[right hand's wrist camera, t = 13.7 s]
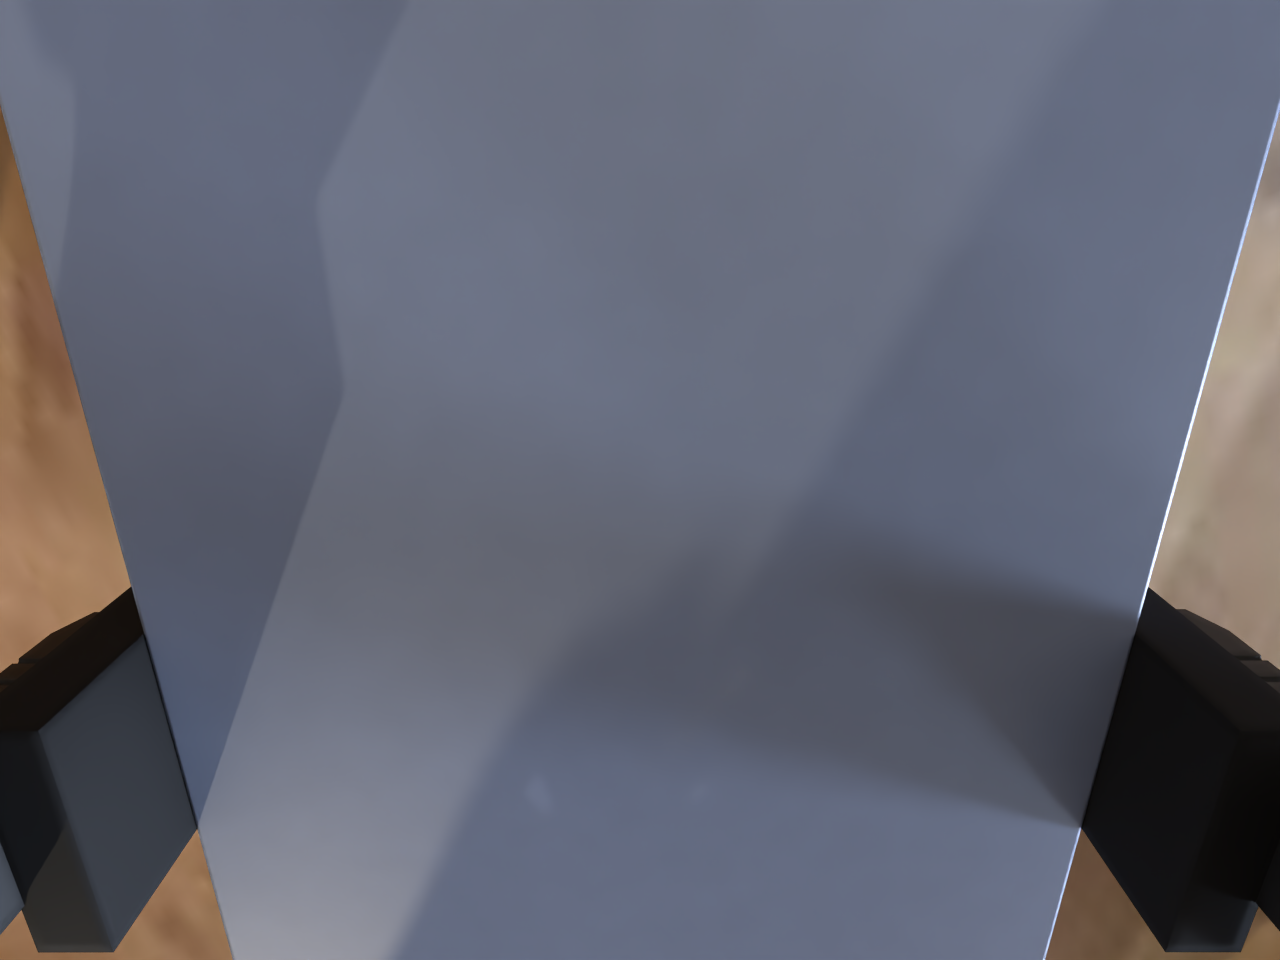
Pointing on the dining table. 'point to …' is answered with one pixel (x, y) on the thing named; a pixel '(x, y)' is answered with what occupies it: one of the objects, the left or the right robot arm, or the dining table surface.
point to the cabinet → (639, 442)
